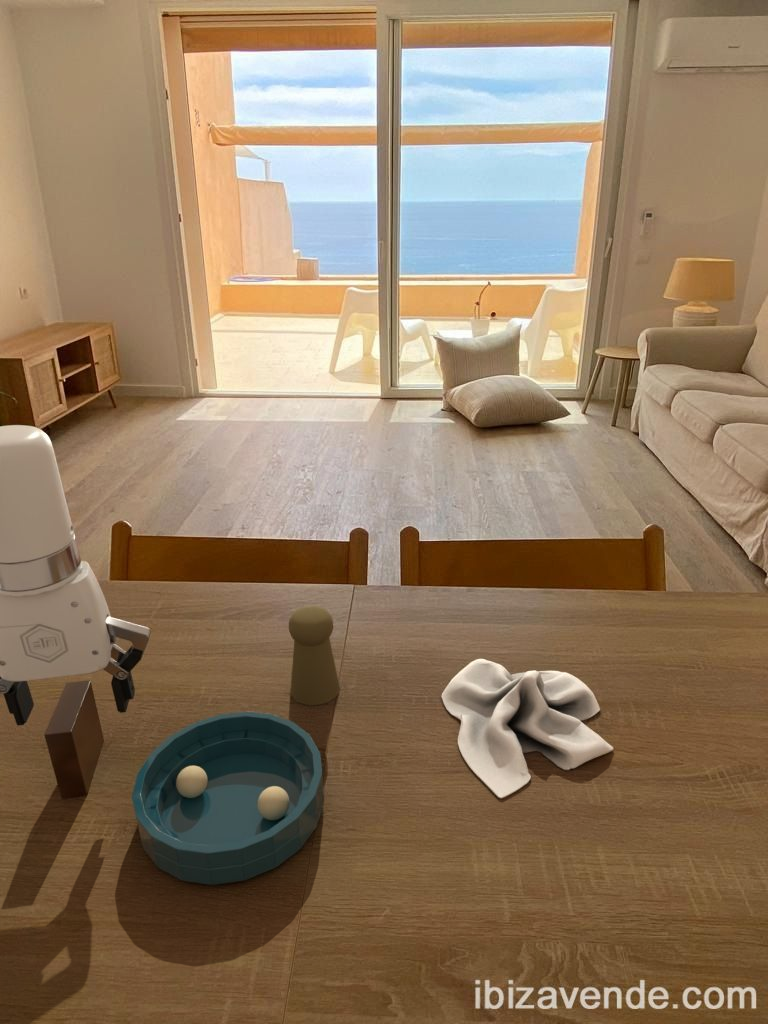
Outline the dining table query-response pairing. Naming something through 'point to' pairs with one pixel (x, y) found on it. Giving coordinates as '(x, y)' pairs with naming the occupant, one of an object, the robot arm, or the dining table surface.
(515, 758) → the cloth
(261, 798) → the dough ball
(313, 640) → the olive chess pawn
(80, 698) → the brown brick
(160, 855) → the bowl
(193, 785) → the dough ball
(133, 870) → the dining table surface
